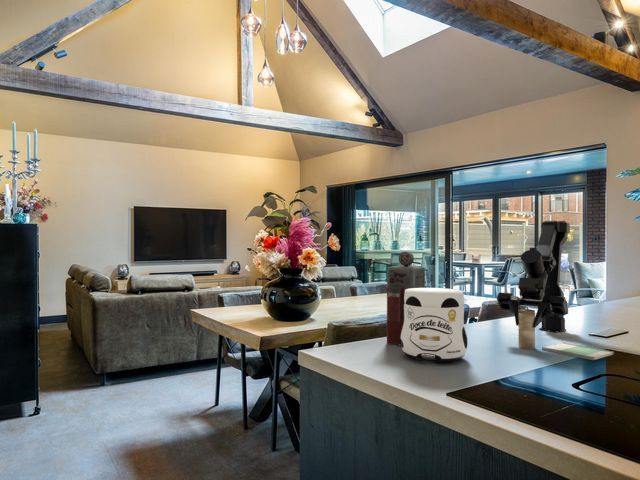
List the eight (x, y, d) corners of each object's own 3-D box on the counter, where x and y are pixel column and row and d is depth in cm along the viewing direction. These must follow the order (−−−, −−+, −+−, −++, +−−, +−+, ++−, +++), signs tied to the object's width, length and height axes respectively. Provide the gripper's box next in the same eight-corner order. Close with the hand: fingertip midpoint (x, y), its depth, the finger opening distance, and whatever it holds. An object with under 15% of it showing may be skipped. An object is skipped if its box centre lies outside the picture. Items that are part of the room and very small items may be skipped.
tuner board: (542, 349, 132) (542, 347, 132) (563, 344, 138) (563, 342, 138) (593, 360, 120) (593, 357, 120) (613, 354, 126) (613, 351, 126)
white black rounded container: (419, 368, 112) (419, 295, 112) (390, 352, 128) (390, 288, 128) (481, 363, 116) (481, 293, 116) (445, 348, 133) (445, 286, 133)
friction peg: (515, 347, 135) (515, 309, 135) (524, 345, 137) (524, 308, 137) (529, 350, 131) (529, 311, 131) (538, 348, 134) (538, 310, 134)
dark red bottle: (383, 344, 137) (383, 251, 138) (398, 338, 147) (398, 251, 147) (410, 348, 132) (411, 252, 133) (425, 341, 142) (425, 251, 142)
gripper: (498, 266, 143) (486, 305, 135) (564, 268, 132) (556, 311, 123) (506, 289, 149) (495, 328, 141) (570, 293, 138) (562, 336, 129)
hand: (525, 325), depth 133 cm, fingers closed on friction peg, 4 cm apart
